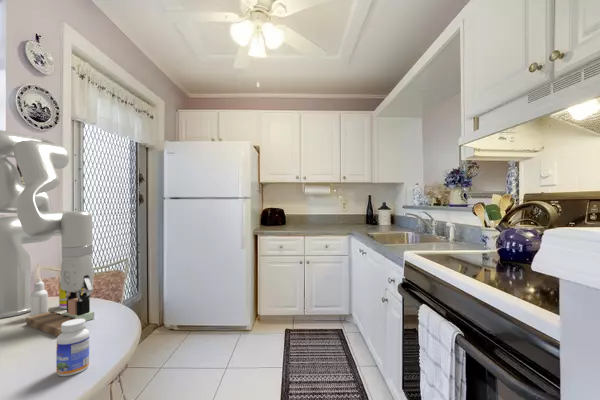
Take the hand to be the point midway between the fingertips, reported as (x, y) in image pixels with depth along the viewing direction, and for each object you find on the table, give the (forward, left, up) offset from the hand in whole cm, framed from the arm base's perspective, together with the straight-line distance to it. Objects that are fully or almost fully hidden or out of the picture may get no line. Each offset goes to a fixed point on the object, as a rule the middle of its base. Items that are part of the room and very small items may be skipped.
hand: (78, 311), depth 90 cm
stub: (0, 0, -2) cm, 2 cm away
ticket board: (0, -6, -2) cm, 6 cm away
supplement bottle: (-17, +6, -3) cm, 18 cm away
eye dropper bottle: (-14, -4, -3) cm, 15 cm away
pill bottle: (+32, -15, -3) cm, 36 cm away
